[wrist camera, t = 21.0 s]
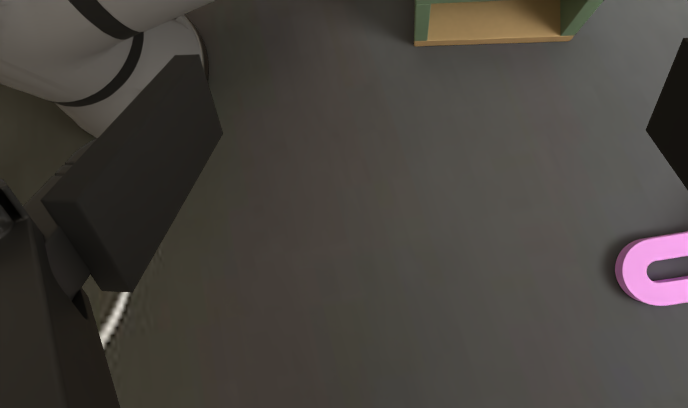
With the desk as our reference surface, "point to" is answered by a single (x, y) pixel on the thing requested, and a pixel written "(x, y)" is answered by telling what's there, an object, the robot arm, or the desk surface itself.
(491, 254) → the desk surface
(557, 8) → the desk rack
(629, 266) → the bracket
